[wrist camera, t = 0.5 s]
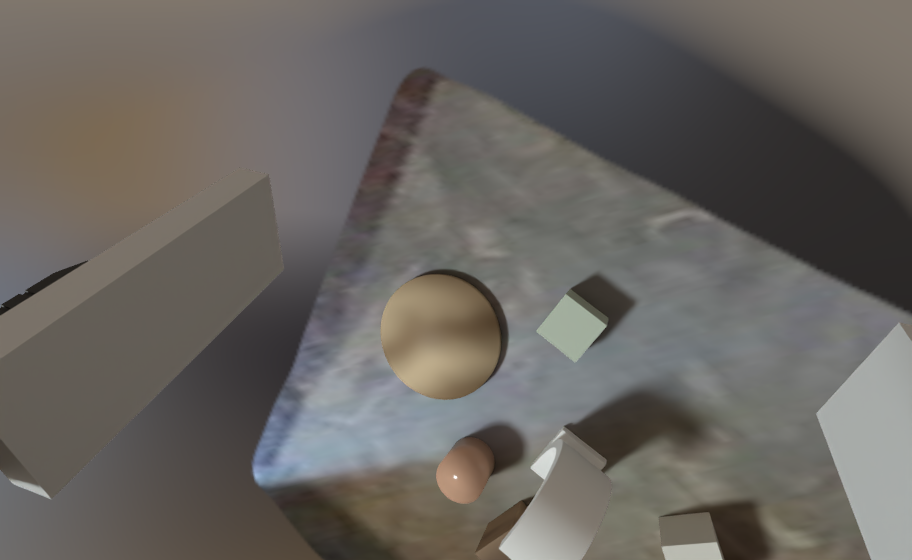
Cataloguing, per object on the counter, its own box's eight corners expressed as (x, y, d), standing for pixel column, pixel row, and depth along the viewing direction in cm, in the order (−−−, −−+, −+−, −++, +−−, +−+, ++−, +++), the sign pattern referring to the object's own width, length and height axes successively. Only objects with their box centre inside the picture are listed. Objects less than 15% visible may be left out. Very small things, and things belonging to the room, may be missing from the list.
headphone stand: (531, 463, 44) (498, 548, 33) (570, 417, 43) (549, 490, 31) (572, 497, 43) (552, 596, 32) (614, 452, 42) (608, 540, 30)
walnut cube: (554, 538, 45) (546, 572, 40) (519, 560, 46) (508, 595, 42) (521, 499, 45) (510, 529, 41) (488, 522, 47) (474, 553, 43)
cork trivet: (524, 368, 43) (522, 371, 43) (419, 413, 48) (416, 417, 47) (463, 251, 44) (460, 251, 43) (364, 307, 48) (360, 308, 47)
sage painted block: (608, 317, 40) (607, 325, 38) (579, 352, 42) (575, 362, 39) (570, 288, 41) (565, 294, 38) (542, 323, 42) (536, 331, 40)
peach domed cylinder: (503, 472, 46) (491, 495, 42) (464, 485, 47) (450, 509, 43) (481, 430, 46) (468, 450, 42) (444, 445, 47) (428, 465, 44)
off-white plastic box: (726, 567, 40) (737, 604, 36) (676, 570, 41) (680, 606, 38) (708, 511, 40) (717, 542, 36) (658, 516, 41) (661, 546, 37)
